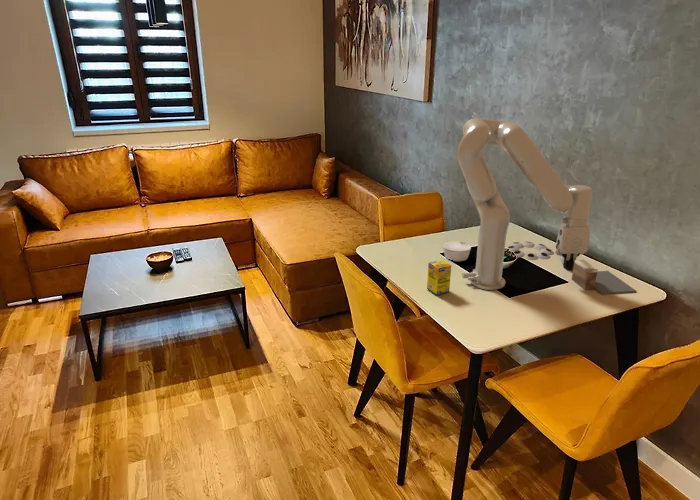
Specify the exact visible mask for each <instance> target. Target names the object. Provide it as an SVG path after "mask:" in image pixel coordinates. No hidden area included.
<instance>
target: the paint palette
mask: <svg viewBox="0 0 700 500" xmlns="http://www.w3.org/2000/svg"><path fill="white" fill-rule="evenodd" d="M506 248H507V249H509V250H510V251H512V252H513V253H514V254H515V255H516V256H518V257H517V258H524V259H525V260H529V261H536V260H540V259H541V260H549V259H551V256H552V255H555V252H554V251H553V250H552V249H550V248H548V247H547V245H545V244H543V243H536V244H535V243H534V242H532V241H524V242H522V243H521V242H520V241H519V242H518V241H515V242H511V244H510V245H509V246H507V247H506ZM523 248H528V249H530V248H531V249H534V250H537V251H538V252H537V253H536V254H535V253H533V252H530V253H529V252H528V253H525V252H524V251H522V250H520V249H523ZM512 252H511V253H512ZM531 256H532V257H531Z"/></svg>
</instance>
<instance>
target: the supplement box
mask: <svg viewBox="0 0 700 500" xmlns="http://www.w3.org/2000/svg"><path fill="white" fill-rule="evenodd" d="M427 266H428V267H427V284H426V290H427V289H428V290H429V292H430V291H431V292H432V293H431V292H430V293H431V294H433V295H434V294H435V297H436V296H437V295H438V296H440V295H444V294H448V293H450V286H451V277H452V274H451V273H452V265H451V264H450V263H449V262H446V261H445V260H443V259H438V260H435V261H429V262H428V265H427ZM428 290H427V291H428Z"/></svg>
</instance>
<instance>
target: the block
mask: <svg viewBox="0 0 700 500" xmlns="http://www.w3.org/2000/svg"><path fill="white" fill-rule="evenodd" d="M597 271H599V270H598V268H596V267H595V266H594V265H592V264H591V263H589V262H588V261H587V260H585V259H576V260H574V266H573V269H572V275H571V281H573V282H574V283H575V284H577V285H578V286H579V287H580V289H583V290H584V291H593V290H595V289H594V287H595V281H596V276H597Z"/></svg>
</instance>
